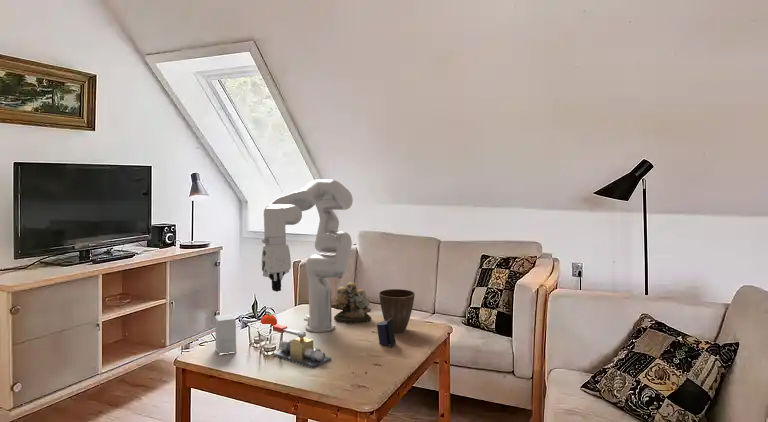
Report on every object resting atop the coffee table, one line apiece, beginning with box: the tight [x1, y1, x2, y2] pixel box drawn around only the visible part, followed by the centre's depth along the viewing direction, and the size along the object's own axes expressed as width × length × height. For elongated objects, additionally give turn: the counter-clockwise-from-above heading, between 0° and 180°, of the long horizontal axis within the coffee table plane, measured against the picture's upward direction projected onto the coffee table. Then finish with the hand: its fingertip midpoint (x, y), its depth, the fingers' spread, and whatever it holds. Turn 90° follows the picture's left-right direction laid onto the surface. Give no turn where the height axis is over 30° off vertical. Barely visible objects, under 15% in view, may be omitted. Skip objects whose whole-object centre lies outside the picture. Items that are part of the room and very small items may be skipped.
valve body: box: [273, 336, 332, 369], centre depth 189 cm, size 20×9×8 cm, turn 53°
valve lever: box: [272, 323, 307, 338], centre depth 193 cm, size 3×15×2 cm, turn 53°
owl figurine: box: [331, 281, 372, 324], centre depth 238 cm, size 18×12×17 cm, turn 87°
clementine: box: [259, 313, 278, 326], centre depth 223 cm, size 8×7×7 cm
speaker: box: [376, 318, 397, 349], centre depth 204 cm, size 8×6×10 cm
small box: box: [214, 313, 237, 355], centre depth 197 cm, size 8×6×13 cm
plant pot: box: [378, 288, 416, 334], centre depth 222 cm, size 15×15×16 cm
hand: (276, 290), depth 193 cm, fingers closed
